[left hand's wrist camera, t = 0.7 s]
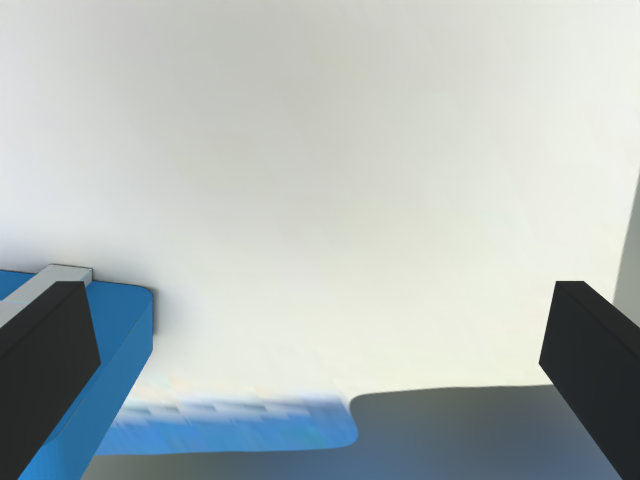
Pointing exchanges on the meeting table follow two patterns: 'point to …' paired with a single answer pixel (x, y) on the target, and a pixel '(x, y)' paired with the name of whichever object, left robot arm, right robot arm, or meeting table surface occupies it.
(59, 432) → the logo
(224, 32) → the meeting table surface
